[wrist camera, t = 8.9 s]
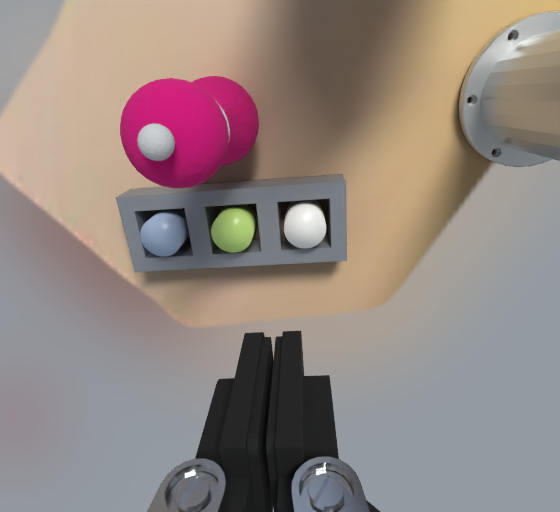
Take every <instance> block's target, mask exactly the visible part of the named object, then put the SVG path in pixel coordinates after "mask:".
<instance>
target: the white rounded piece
mask: <svg viewBox="0 0 560 512" xmlns="http://www.w3.org/2000/svg"><path fill="white" fill-rule="evenodd" d="M284 233H285V236H286V238H287V240H288V241H289V242H290V243H291V244H292V245H294V246H296V247H298V248H312V247H314V246H316V245H318V244H319V243H320V242H321V241H322V240H323V238H324V236H325V234H326V222H325V218H324V213H323V210H322V207H321V206H320V204H319V203H318V202H316V201H315V200H299V201H293V202H292V203H291V204H290V205H289V206H288V208H287V210H286V213H285V222H284Z"/></svg>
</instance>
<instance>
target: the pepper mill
mask: <svg viewBox="0 0 560 512" xmlns="http://www.w3.org/2000/svg"><path fill="white" fill-rule="evenodd" d="M258 127H259V121H258V114H257V110H256V107H255V104H254V102H253V100H252V98H251V97H250V95H249V94H248V93H247V92H246V91H245V90H244V89H243V88H242V87H241V86H240V85H239V84H237V83H236V82H234V81H232V80H230V79H227V78H224V77H218V76H209V77H204V78H200V79H197V80H195V81H193V82H188V81H186V80H180V79H173V78H168V79H160V80H155V81H153V82H150V83H148V84H146V85H144V86H143V87H141V88H140V89H138V90H137V91H136V92H135V93H134V94H133V95H132V96H131V98H130V99H129V100H128V102H127V104H126V106H125V108H124V110H123V113H122V116H121V123H120V135H121V140H122V144H123V147H124V150H125V153H126V155H127V157H128V158H129V160H130V162H131V163H132V165H133V166H134V167H135V168H136V170H137V171H138V172H139V173H141V174H142V175H143V176H144V177H145V178H147V179H149V180H150V181H152V182H154V183H157V184H159V185H161V186H165V187H169V188H190V187H193V186H197V185H199V184H201V183H203V182H205V181H206V180H208V179H209V178H211V177H212V176H213V175H214V174H215V173H216V172H217V171H218V170H219V168H220V166H224V165H228V164H231V163H234V162H236V161H238V160H240V159H241V158H243V157H244V156H245V155H246V154H247V153H248V152H249V151H250V149H251V148H252V146H253V145H254V143H255V140H256V138H257V134H258Z"/></svg>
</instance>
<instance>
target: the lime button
mask: <svg viewBox="0 0 560 512" xmlns="http://www.w3.org/2000/svg"><path fill="white" fill-rule="evenodd" d="M256 225H257V217H256V214H255V212H254V211H253V209H252V208H251V207H250V206H248V205H247V204H239V205H226V206H225V207H224V208H223V209H222V211H221V212H220V214H219V215H218V217H217V218H216V220H215V221H214V223H213V225H212V228H211V235H212V238H213V241H214V242H215V244H216V245H217V246H218V247H219V248H220V249H222V250H224V251H226V252H231V253H235V252H240V251H242V250H244V249H246V248H247V247H248V246H249V245H250V243H251V241H252V238H253V235H254V232H255V229H256Z"/></svg>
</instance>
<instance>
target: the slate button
mask: <svg viewBox="0 0 560 512" xmlns="http://www.w3.org/2000/svg"><path fill="white" fill-rule="evenodd" d="M140 236H141V241H142V243H143V245H144V247H145V248H146V249H147V250H148V251H149V252H151V253H152V254H154V255H157V256H162V257H165V256H170V255H173V254H174V253H176V252H177V251H178V249H179V248H180V247H181V246H182V244H183V243H184V242H185V240H186V239H187V238H188V237H189V230H188V225H187V219H186V214H185V211H183V210H182V209H180V208H178V209H163V210H160V211H159V212H158V213H156V214H155V215H154V216H153V217H152V218H150V219H149V220H148V221H147V222H146V223H145V224H144V225H143V226H142V228H141V233H140Z"/></svg>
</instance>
